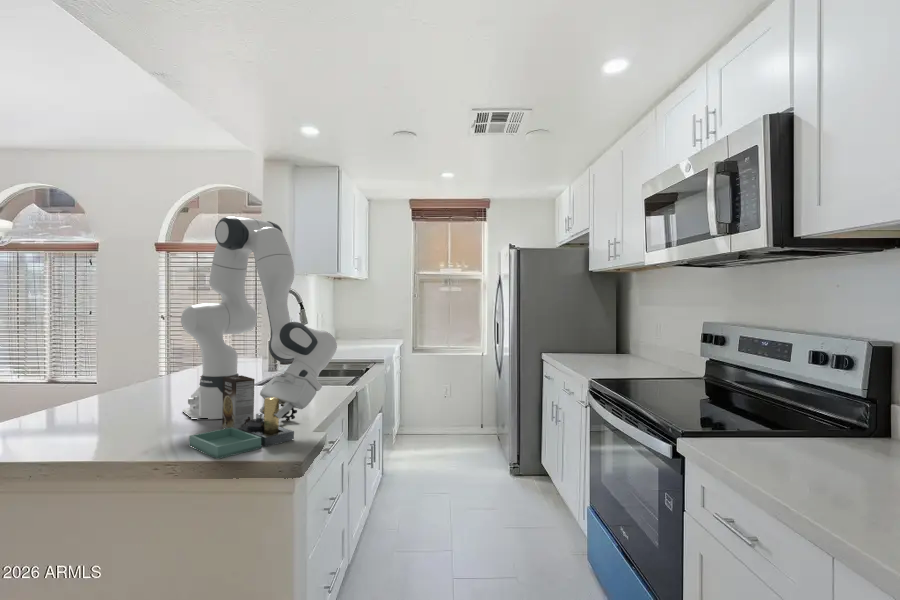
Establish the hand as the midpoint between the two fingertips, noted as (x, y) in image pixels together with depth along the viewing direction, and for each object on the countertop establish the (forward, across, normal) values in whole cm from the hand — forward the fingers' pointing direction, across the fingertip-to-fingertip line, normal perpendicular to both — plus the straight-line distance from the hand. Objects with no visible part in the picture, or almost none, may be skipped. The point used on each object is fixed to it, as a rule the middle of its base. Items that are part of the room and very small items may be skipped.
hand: (269, 415), depth 142 cm
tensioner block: (+5, -3, +6) cm, 8 cm away
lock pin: (+5, 0, +6) cm, 7 cm away
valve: (-3, -15, +14) cm, 20 cm away
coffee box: (+5, -19, +6) cm, 21 cm away
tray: (+13, -3, -3) cm, 14 cm away
